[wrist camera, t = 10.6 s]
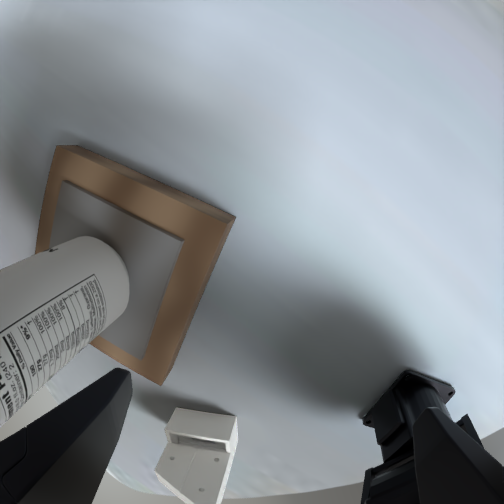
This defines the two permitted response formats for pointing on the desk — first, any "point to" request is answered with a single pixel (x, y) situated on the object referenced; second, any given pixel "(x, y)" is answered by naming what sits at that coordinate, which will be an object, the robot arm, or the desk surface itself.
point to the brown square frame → (137, 250)
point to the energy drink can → (54, 313)
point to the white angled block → (198, 455)
